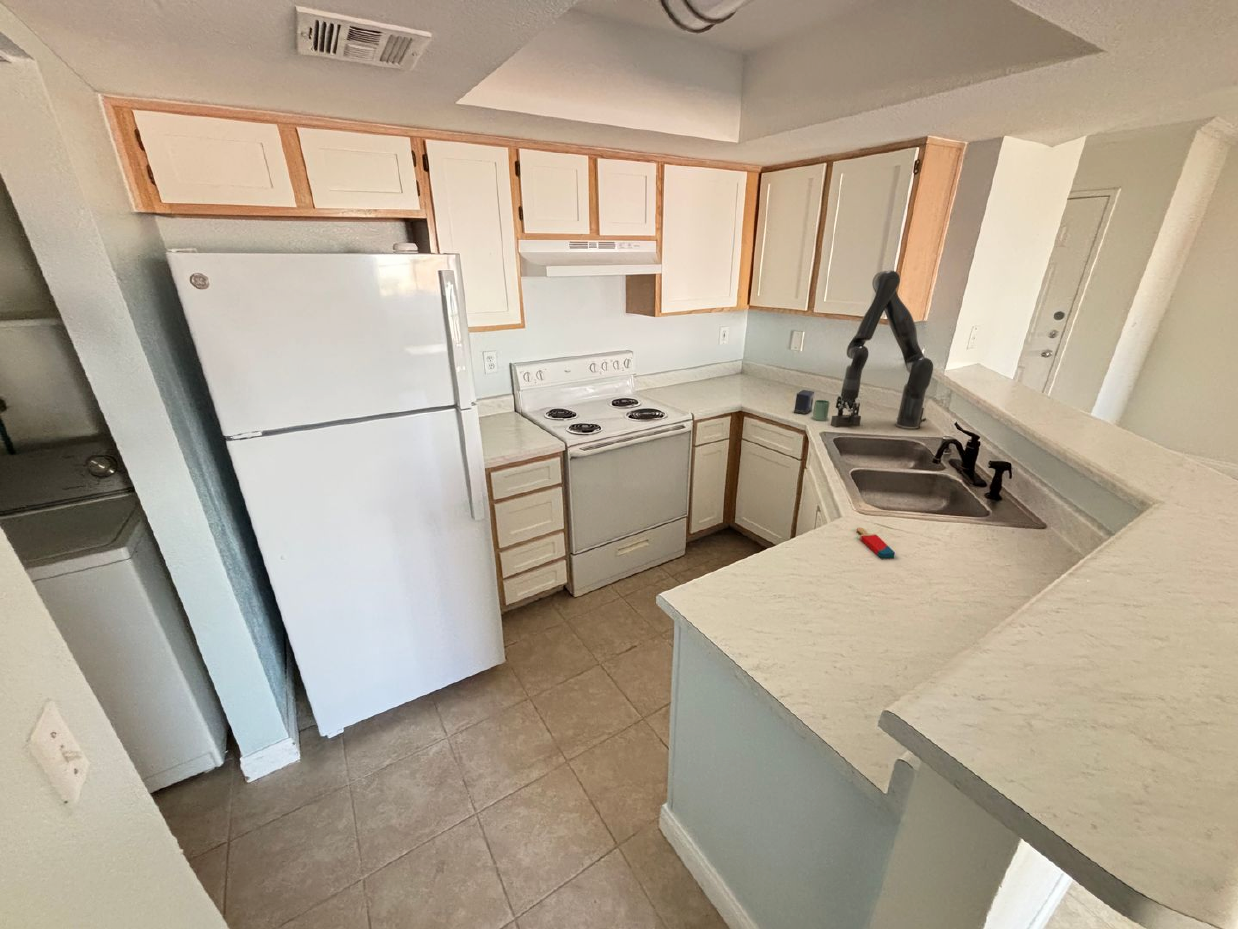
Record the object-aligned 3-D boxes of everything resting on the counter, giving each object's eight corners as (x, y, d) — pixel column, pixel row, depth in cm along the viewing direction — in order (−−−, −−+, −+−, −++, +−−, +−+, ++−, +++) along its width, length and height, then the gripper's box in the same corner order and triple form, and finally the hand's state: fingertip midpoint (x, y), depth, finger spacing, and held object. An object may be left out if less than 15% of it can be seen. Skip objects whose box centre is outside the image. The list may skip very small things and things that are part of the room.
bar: (854, 422, 246) (855, 413, 245) (859, 425, 243) (861, 416, 241) (830, 424, 244) (832, 415, 242) (835, 427, 240) (837, 418, 239)
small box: (805, 414, 260) (808, 395, 256) (793, 412, 264) (795, 393, 260) (812, 410, 268) (815, 391, 264) (800, 408, 271) (802, 389, 267)
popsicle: (866, 525, 147) (896, 552, 134) (865, 530, 148) (895, 557, 134) (851, 526, 147) (880, 553, 133) (851, 530, 148) (879, 558, 134)
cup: (822, 416, 257) (824, 399, 253) (829, 420, 251) (832, 402, 247) (810, 417, 256) (812, 400, 252) (817, 421, 249) (820, 403, 246)
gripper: (867, 390, 231) (861, 424, 237) (848, 383, 244) (842, 415, 250) (853, 391, 230) (847, 425, 236) (834, 384, 242) (829, 416, 249)
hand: (844, 420), depth 243 cm, fingers open, 8 cm apart
